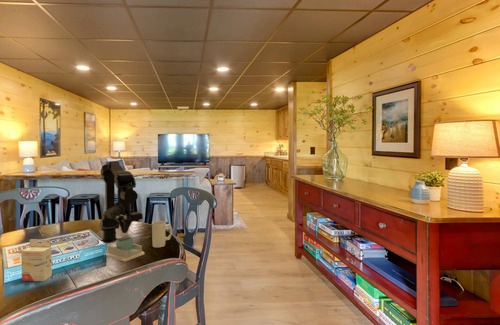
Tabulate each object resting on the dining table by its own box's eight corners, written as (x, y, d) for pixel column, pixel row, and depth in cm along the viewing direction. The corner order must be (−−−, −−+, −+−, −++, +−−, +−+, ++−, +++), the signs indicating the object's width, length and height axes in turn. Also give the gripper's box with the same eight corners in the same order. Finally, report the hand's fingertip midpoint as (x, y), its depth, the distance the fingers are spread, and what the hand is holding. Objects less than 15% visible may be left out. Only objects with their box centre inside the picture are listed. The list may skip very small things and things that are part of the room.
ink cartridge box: (21, 281, 114) (19, 242, 113) (30, 275, 119) (29, 238, 118) (44, 281, 114) (43, 242, 114) (52, 275, 119) (51, 238, 118)
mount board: (104, 255, 141) (104, 246, 141) (124, 248, 151) (124, 240, 151) (124, 261, 134) (124, 252, 134) (144, 254, 144) (144, 245, 144)
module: (121, 252, 139) (121, 240, 139) (116, 250, 141) (116, 238, 141) (133, 248, 144) (132, 236, 144) (127, 247, 146) (127, 235, 146)
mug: (151, 248, 152) (151, 224, 152) (152, 244, 159) (152, 221, 158) (172, 247, 155) (172, 223, 154) (172, 242, 161) (172, 220, 161)
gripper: (95, 200, 139) (96, 233, 140) (122, 204, 130) (122, 240, 130) (117, 196, 149) (117, 228, 149) (143, 200, 139) (143, 234, 140)
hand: (124, 232), depth 142 cm, fingers closed
